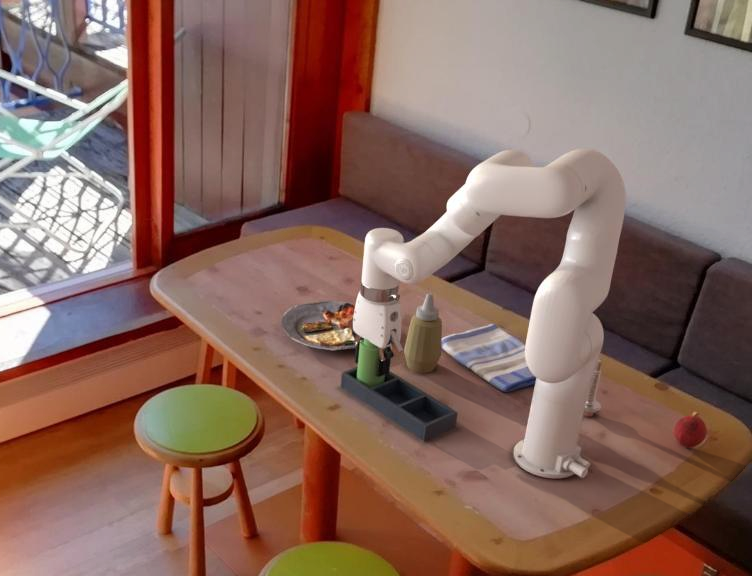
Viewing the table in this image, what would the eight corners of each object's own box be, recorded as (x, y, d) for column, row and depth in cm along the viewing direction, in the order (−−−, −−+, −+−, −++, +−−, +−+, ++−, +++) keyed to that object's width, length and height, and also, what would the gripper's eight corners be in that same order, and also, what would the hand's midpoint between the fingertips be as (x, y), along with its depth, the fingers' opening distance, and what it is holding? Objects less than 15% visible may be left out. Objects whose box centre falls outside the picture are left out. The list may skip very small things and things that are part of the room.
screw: (588, 422, 214) (569, 411, 217) (604, 415, 216) (585, 404, 220) (601, 367, 207) (581, 357, 210) (617, 360, 210) (597, 350, 213)
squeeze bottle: (438, 379, 228) (448, 304, 218) (400, 374, 229) (409, 300, 219) (439, 360, 234) (450, 287, 225) (403, 356, 236) (411, 283, 226)
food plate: (363, 303, 257) (364, 290, 256) (405, 348, 239) (407, 334, 237) (267, 316, 250) (267, 303, 249) (302, 364, 232) (303, 350, 230)
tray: (455, 429, 211) (457, 412, 209) (423, 443, 206) (426, 426, 204) (371, 376, 228) (372, 360, 226) (340, 388, 223) (341, 372, 221)
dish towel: (493, 330, 247) (495, 319, 245) (564, 377, 229) (566, 366, 228) (434, 346, 240) (435, 335, 238) (502, 396, 222) (504, 384, 221)
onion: (697, 459, 204) (708, 424, 199) (667, 449, 206) (676, 415, 202) (704, 444, 208) (714, 410, 204) (673, 435, 210) (683, 401, 206)
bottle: (389, 390, 222) (397, 318, 213) (368, 398, 219) (375, 325, 210) (370, 378, 226) (377, 307, 217) (350, 386, 223) (356, 314, 214)
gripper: (423, 301, 206) (413, 380, 216) (364, 270, 218) (357, 346, 227) (395, 311, 202) (387, 391, 212) (336, 278, 214) (330, 355, 224)
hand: (371, 367), depth 220 cm, fingers closed on bottle, 5 cm apart
